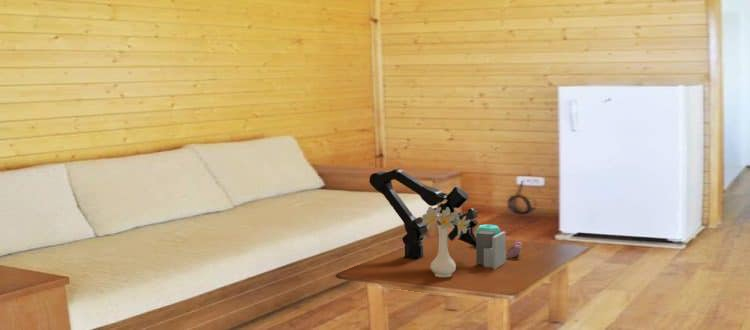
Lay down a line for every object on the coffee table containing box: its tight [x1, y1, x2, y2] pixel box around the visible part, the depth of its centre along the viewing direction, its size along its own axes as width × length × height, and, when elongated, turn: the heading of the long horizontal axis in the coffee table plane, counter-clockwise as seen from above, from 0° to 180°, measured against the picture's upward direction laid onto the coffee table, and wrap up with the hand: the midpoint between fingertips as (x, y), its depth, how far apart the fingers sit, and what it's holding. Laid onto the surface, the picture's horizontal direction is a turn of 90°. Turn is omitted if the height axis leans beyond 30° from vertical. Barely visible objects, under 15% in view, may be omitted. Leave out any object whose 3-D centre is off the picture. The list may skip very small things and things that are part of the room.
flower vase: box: [421, 206, 470, 278], centre depth 311 cm, size 13×18×25 cm
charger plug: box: [475, 231, 495, 266], centre depth 328 cm, size 8×5×12 cm, turn 62°
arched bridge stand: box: [483, 231, 507, 270], centre depth 327 cm, size 5×12×12 cm, turn 152°
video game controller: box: [506, 241, 523, 259], centre depth 342 cm, size 10×5×7 cm, turn 169°
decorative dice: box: [474, 224, 502, 237], centre depth 364 cm, size 8×8×8 cm
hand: (477, 246), depth 330 cm, fingers closed, pressing on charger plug
